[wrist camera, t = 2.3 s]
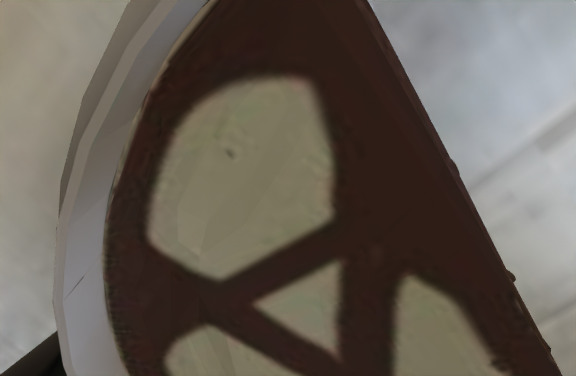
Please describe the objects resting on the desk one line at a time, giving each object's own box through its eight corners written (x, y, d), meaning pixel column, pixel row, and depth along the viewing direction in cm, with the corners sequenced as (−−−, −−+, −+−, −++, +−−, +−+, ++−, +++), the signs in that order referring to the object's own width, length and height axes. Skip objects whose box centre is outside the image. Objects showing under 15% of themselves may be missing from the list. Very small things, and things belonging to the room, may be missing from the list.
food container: (115, 36, 13) (-301, 241, 4) (297, -104, 11) (262, -284, 2) (332, 310, 18) (359, 677, 9) (483, 244, 16) (705, 621, 7)
